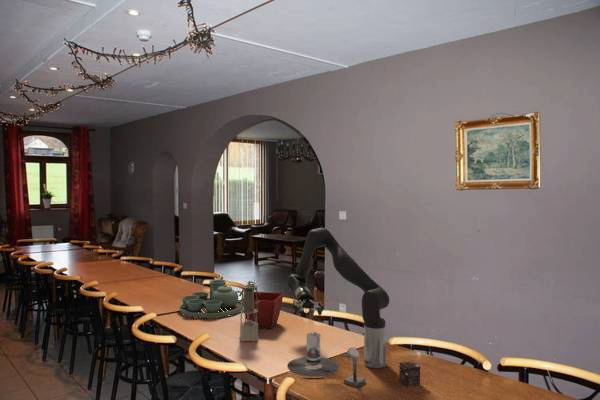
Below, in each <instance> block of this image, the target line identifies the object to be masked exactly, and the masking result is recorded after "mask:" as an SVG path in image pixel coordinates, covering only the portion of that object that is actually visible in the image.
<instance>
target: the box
mask: <svg viewBox="0 0 600 400" xmlns="http://www.w3.org/2000/svg"><path fill="white" fill-rule="evenodd" d="M398 380H399V381H400V383H402V384H404V386H407V387H411V386H417V385H421V366H420V365H419V364H417V363H416V362H414V361H412V360H410V361H404V362H399V375H398Z"/></svg>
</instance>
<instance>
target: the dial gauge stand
mask: <svg viewBox="0 0 600 400" xmlns="http://www.w3.org/2000/svg"><path fill="white" fill-rule="evenodd" d="M341 357H344V358H348V359H349V360H350V361H352V375H350V376H349V377H347V378H344V380H343V384H345V385H348V386H351V387H354V388H359V387H360V386H362V385H365V383H366V378H364V377H360V376H357V366H358V365H357V363H358V362H357V361H358V359H359V358H360V351H359V350H358V349H357V348H356V347H355V346H354V347H353V346H352V347H350V348H348V349H347V351H346V353H341Z"/></svg>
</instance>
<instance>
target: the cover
mask: <svg viewBox="0 0 600 400" xmlns="http://www.w3.org/2000/svg"><path fill="white" fill-rule="evenodd" d="M305 357H306V360H307V361H309V362H318V361H320V360H321V357H322V356H321V334H320V333H318V332H316V331H311V332H308V333H307V334H306V355H305Z"/></svg>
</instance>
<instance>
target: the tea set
mask: <svg viewBox="0 0 600 400" xmlns="http://www.w3.org/2000/svg"><path fill="white" fill-rule="evenodd" d="M226 282H227V280H226V279H223V278H222V279H220V278H219V279H218V278H217V279H216V278H215V279H211V280H209V281H208V283H209V292H207V291H197V292H192V293H191V294H190V295H185V296H182V297H181V300H182V304H180V305H179V312H180V315H182V314H184V315H183V316H185V315H186V316H185V317H187V316H189V317H188V318H191V317H198V318H197V319H201V318H208V319H217V318H216V317H222V318H224V317H223V316H227V317H229V316H228V315H232V316H235V315H236V313H237V314H239V313H241V312H240V311H241V310H242V298H241V299H240V300H239V294H240V295H241V296H242V291H240V290H235V289H233V288H232V286H231V285H230V286H229V285H226ZM238 293H239V294H238ZM208 295H209V298H208ZM220 308H221V309H222V310H223V311H224V312H223V311H222V310H221V309H220ZM225 308H226V309H227V310H228V311H227V310H226V309H225ZM230 308H231V309H230ZM201 309H202V310H203V311H204V312H205V313H203V312H202V311H201ZM205 309H206V310H205ZM218 311H219V312H218ZM198 312H199V313H198ZM238 312H239V313H238ZM234 314H235V315H234Z"/></svg>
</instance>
